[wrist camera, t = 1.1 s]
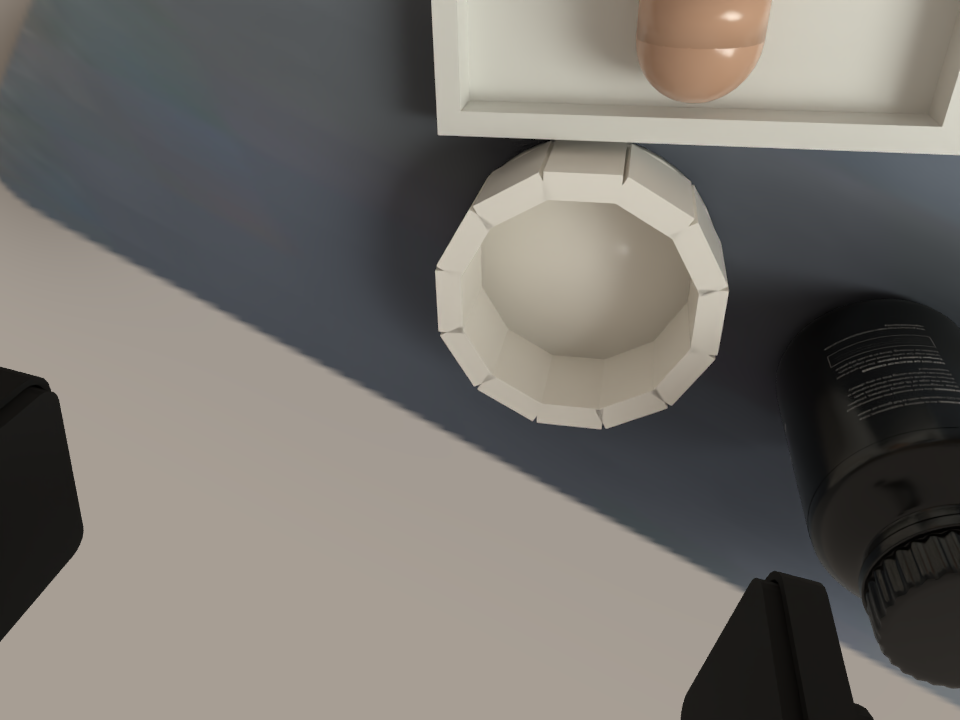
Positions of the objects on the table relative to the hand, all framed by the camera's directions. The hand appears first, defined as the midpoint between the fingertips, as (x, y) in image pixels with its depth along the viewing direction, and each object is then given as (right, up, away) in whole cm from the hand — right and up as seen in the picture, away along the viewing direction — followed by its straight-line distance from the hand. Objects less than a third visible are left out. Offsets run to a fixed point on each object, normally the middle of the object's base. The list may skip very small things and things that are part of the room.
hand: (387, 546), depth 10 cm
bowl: (+5, +6, +18) cm, 20 cm away
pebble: (+8, +13, +13) cm, 20 cm away
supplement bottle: (+16, +2, +19) cm, 25 cm away
